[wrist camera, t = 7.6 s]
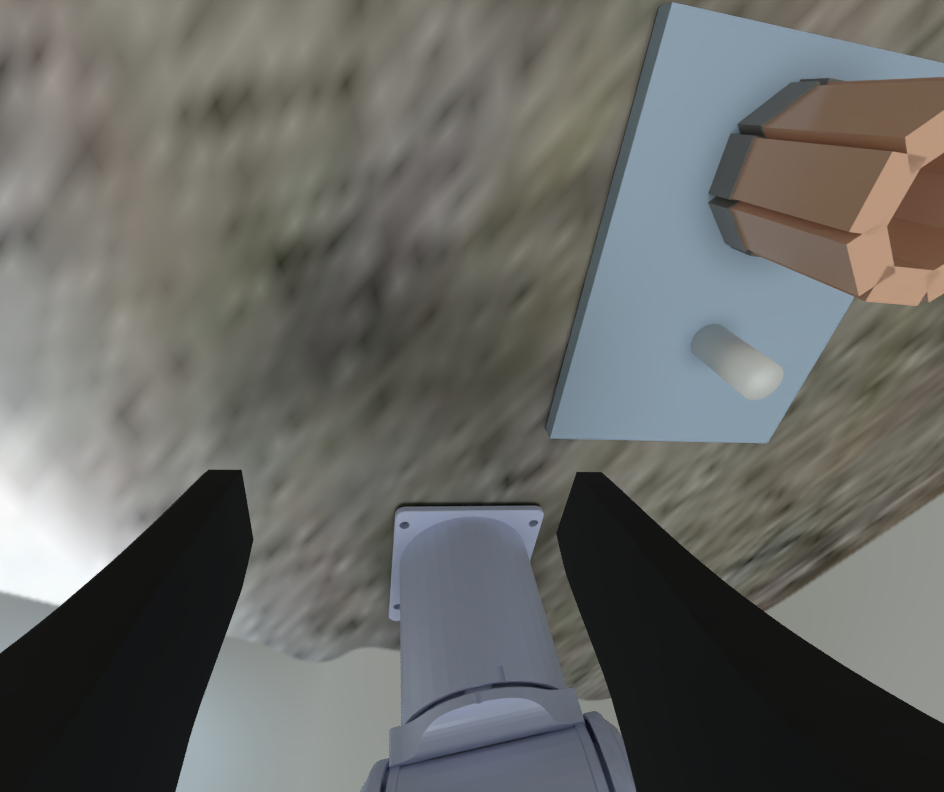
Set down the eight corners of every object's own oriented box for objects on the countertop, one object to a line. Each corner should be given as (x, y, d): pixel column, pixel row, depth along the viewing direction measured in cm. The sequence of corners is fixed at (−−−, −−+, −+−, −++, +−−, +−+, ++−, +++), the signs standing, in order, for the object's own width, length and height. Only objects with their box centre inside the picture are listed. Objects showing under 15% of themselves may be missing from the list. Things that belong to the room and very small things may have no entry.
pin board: (757, 433, 25) (819, 490, 21) (545, 428, 22) (574, 490, 19) (963, 74, 16) (1124, 66, 13) (659, 6, 14) (749, -26, 10)
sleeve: (809, 255, 18) (964, 313, 13) (689, 243, 17) (809, 300, 12) (891, 96, 16) (1125, 94, 11) (753, 70, 15) (940, 54, 10)
